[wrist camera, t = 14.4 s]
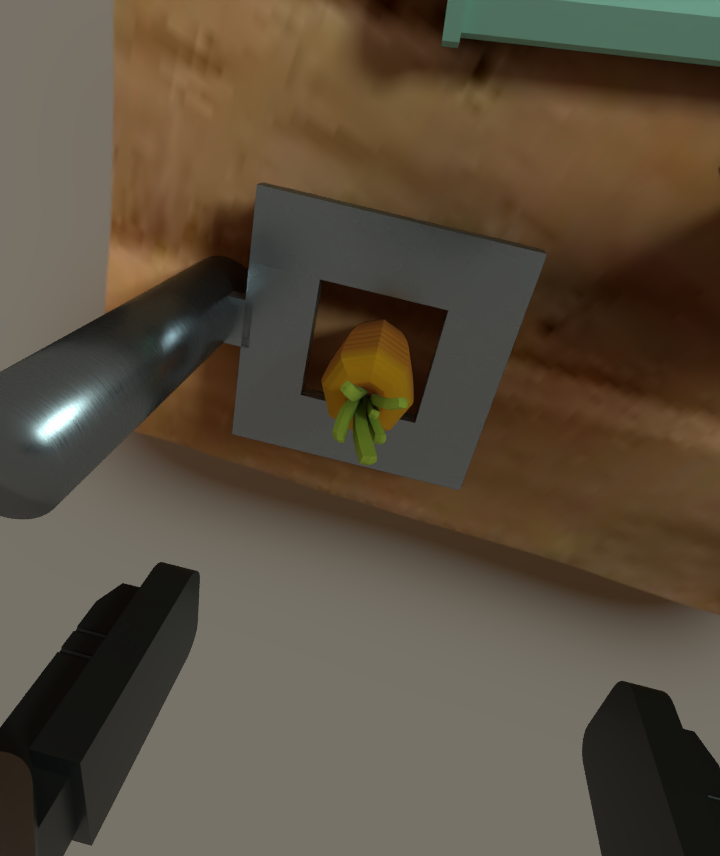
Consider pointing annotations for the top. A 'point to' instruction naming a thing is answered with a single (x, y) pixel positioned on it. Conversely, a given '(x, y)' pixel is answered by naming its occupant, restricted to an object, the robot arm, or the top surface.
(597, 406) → the top surface
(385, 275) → the square hole stand
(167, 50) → the top surface
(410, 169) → the top surface
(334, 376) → the carrot
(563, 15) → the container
